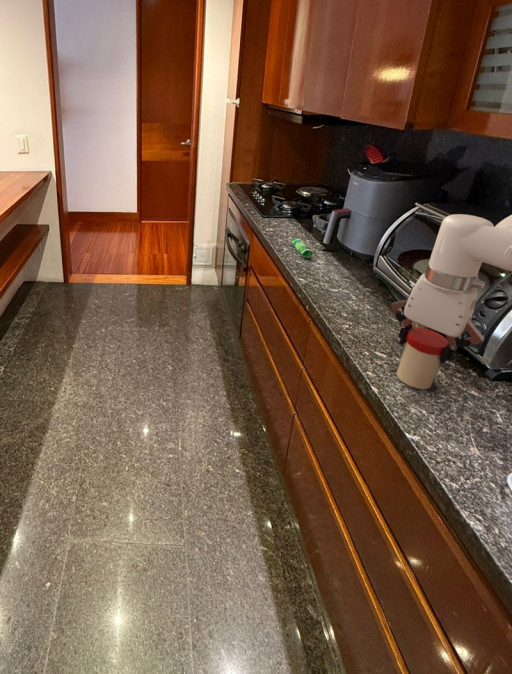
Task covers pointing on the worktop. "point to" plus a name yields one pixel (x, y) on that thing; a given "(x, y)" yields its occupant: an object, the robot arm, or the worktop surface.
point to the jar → (417, 368)
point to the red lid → (426, 341)
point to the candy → (301, 248)
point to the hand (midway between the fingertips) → (423, 350)
